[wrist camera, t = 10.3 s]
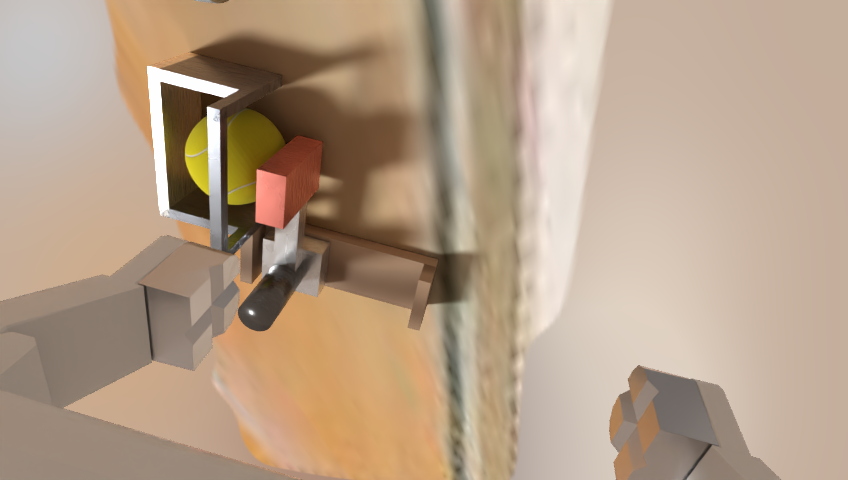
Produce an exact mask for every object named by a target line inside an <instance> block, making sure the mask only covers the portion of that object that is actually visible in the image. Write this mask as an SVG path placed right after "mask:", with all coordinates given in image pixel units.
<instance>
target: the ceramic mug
mask: <svg viewBox="0 0 848 480" xmlns="http://www.w3.org/2000/svg"><path fill="white" fill-rule="evenodd" d="M195 1H200V2H210V3H224V2H227V1H229V0H195Z"/></svg>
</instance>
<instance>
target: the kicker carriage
mask: <svg viewBox="0 0 848 480" xmlns="http://www.w3.org/2000/svg"><path fill="white" fill-rule="evenodd" d="M322 146H323V142H322V141H318V140H314V139H310V138H307V137H303V136H299V135H297V136H296V137H295V138H294V139H293V140H291V141H290V142H289V143H288V144H287V145H285V146H284V147H283V148H282V149H281V150H279V151H278V152H277V153H276V154H275V155H273V156H272V157H271V158H270V159H269V160H267V161H266V162H265V163H264V164H263V165H261V166H260V167H259V168H258V169H257V182H256V219H255V222H258V223H261V224H265V225H269V226H272V227H273V228H272V229H271V230H270V232H269V233H268V234H267V235H266V236H265V237H264V238H263V255H262V280H261V281H260V282H259V283H258V285H257V286H256V287H255V288H254V290H253V291H252V292H251V293H250V295H249V296H248V297H247V298H246V300H245V301H244V302H243V303H242V305H241V306H240V307H239V309H238V315H239V318H240V320H241V321H242V323H243V324H244V325H245V326H247V327H248V328H250V329H252V330H255V331H265V330H267V329H269V328H270V327H271V325H272V324H273V322H274V321H275V319H276V318H277V316H278V315H279V313H280V312H281V310H282V309H283V308H284V306H285V305H286V303H287V302H288V300H289V299H290V297H291V296H292V294H293V293H294V291H297V292H301V293H304V294H308V295H312V296H315V297H318V295H319V294H320V292H321V291H322V289H323V287H324V286H325V284H326V276H327V267H328V259H329V250H330V242H328V241H324V240H320V239H317V238H313V237H309V236H305V235H304V233H305V221H306V210H307V201H308V200H309V199H310V198H311V197H312V195H313V194H314V193H315V192H316V191H317V190H318V188H319V177H320V167H321V157H322Z"/></svg>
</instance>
